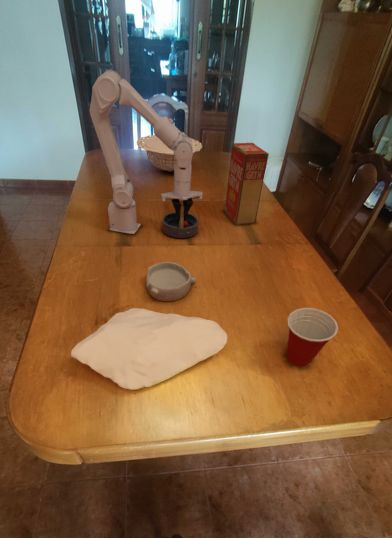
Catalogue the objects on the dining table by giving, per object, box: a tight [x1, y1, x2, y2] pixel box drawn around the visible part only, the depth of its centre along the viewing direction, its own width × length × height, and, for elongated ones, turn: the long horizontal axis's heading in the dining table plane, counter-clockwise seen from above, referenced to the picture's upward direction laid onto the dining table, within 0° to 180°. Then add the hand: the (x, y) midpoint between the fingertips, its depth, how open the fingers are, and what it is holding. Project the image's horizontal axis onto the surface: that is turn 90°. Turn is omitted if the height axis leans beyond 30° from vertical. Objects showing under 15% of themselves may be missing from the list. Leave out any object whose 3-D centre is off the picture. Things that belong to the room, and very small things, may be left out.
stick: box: [179, 204, 184, 228], centre depth 115 cm, size 2×2×8 cm
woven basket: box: [136, 134, 203, 173], centre depth 157 cm, size 32×32×13 cm
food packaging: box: [223, 142, 270, 226], centre depth 122 cm, size 13×9×25 cm
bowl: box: [161, 211, 200, 239], centre depth 118 cm, size 13×13×4 cm
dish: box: [145, 261, 197, 302], centre depth 93 cm, size 14×14×5 cm
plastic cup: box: [285, 307, 339, 368], centre depth 74 cm, size 11×11×12 cm
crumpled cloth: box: [70, 307, 229, 391], centre depth 73 cm, size 24×35×9 cm
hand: (181, 219), depth 116 cm, fingers closed on stick, 2 cm apart
